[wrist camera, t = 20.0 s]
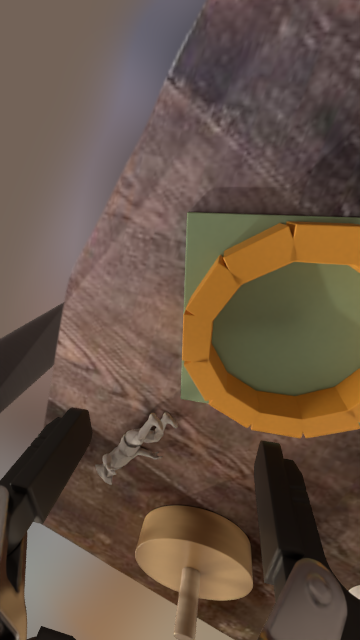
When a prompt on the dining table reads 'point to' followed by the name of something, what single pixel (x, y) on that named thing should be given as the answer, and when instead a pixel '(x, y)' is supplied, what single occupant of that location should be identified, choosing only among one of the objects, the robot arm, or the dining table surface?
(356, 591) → the base with upright slab
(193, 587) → the ring stand
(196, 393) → the mat
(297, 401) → the ring
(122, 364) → the dining table surface
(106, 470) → the soldier figure
